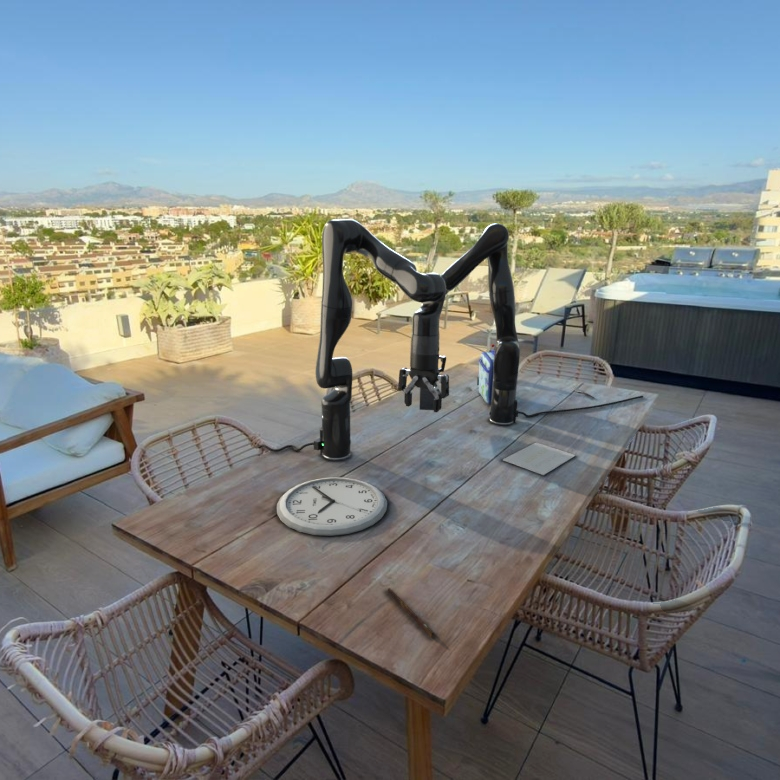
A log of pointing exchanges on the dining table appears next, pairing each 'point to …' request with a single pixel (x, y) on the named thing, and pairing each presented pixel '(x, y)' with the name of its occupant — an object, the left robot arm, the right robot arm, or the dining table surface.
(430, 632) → the dark brown stick
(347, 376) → the left robot arm
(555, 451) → the invitation card
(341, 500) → the wall clock
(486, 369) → the lunch box
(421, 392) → the bar
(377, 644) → the dining table surface
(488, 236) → the right robot arm
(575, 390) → the fork
